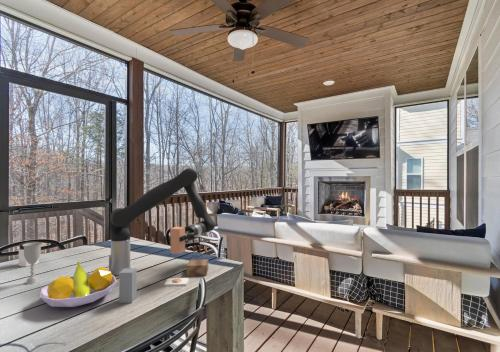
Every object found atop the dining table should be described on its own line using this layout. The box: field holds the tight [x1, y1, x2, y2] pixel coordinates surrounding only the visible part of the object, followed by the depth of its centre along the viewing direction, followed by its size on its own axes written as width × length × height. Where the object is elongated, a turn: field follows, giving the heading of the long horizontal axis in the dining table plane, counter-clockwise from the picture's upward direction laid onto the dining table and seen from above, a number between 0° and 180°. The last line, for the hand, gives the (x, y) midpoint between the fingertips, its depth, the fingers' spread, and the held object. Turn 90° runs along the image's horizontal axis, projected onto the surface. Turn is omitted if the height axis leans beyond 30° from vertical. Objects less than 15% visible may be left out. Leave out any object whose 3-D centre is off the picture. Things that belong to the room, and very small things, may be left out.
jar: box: [18, 240, 40, 268], centre depth 154 cm, size 9×8×12 cm
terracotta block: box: [169, 226, 186, 255], centre depth 133 cm, size 5×5×12 cm
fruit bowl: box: [39, 261, 118, 308], centre depth 112 cm, size 28×27×11 cm
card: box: [163, 277, 190, 287], centre depth 128 cm, size 10×7×1 cm
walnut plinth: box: [186, 258, 209, 277], centre depth 142 cm, size 10×10×5 cm
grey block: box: [118, 267, 138, 304], centre depth 110 cm, size 5×5×12 cm
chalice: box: [23, 241, 43, 285], centre depth 128 cm, size 7×7×18 cm
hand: (175, 239), depth 130 cm, fingers closed on terracotta block, 5 cm apart
